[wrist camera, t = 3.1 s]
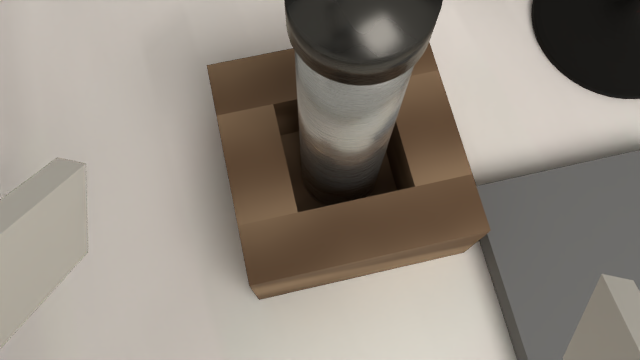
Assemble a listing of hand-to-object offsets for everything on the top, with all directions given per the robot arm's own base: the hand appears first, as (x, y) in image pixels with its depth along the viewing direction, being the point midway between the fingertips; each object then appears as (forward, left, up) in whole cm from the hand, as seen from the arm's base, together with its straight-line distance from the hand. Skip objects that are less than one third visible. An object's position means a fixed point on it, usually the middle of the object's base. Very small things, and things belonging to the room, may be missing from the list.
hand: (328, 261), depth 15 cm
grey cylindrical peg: (-7, +3, -15) cm, 17 cm away
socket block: (-7, +3, -16) cm, 18 cm away
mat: (+1, +15, -16) cm, 22 cm away
